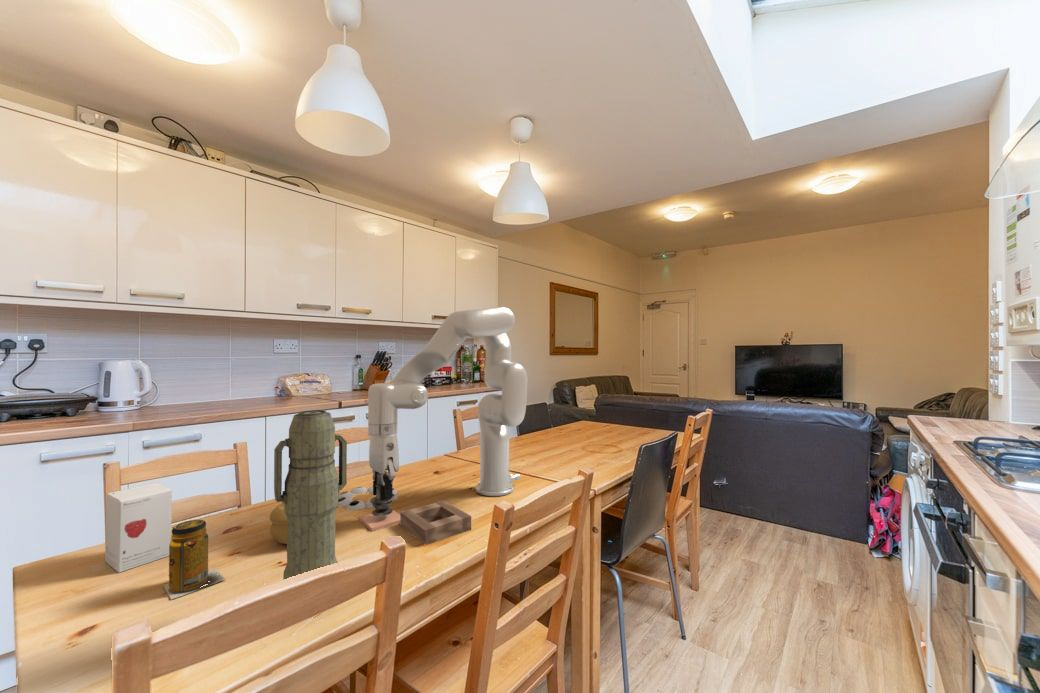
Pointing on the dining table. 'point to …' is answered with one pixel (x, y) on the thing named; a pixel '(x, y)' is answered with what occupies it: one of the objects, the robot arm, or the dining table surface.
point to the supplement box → (138, 526)
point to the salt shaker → (379, 505)
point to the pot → (279, 524)
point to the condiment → (189, 560)
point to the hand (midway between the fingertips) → (382, 495)
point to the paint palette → (361, 504)
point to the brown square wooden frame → (435, 522)
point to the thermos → (310, 490)
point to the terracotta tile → (380, 520)
